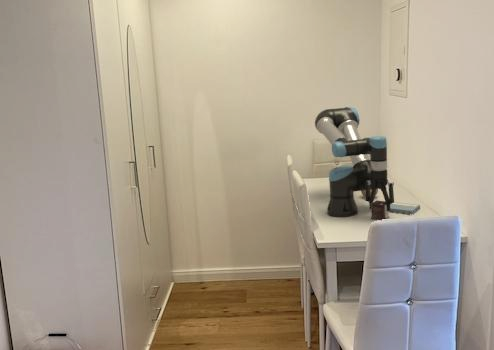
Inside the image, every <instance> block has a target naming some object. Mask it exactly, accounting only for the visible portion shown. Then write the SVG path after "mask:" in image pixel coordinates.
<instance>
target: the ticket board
mask: <svg viewBox="0 0 494 350" xmlns="http://www.w3.org/2000/svg"><path fill="white" fill-rule="evenodd" d="M420 209H421V205H420V204H415V203H413V204H412V203H404V202H395V201H394V203H392V204H390V211H389V213H392V214H393V213H395V214H398V213H399V214H401V213H402V214H401V215H408V214H409V215H408V216H411V215H412V214H413V215H414V214H416V212H418V211H420ZM410 214H411V215H410Z"/></svg>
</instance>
